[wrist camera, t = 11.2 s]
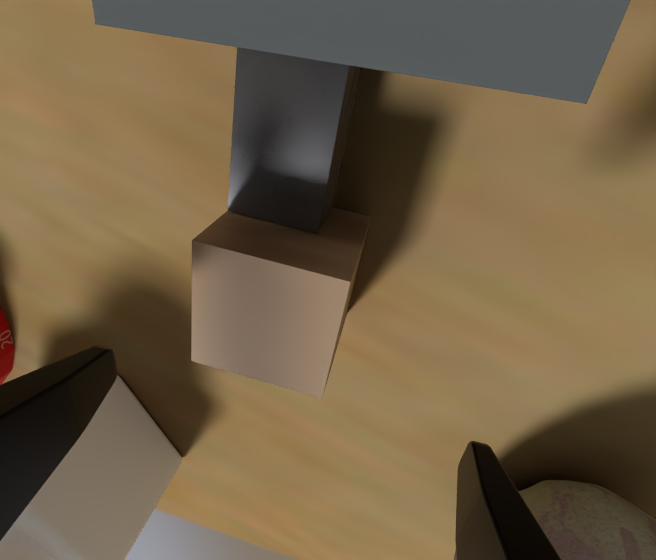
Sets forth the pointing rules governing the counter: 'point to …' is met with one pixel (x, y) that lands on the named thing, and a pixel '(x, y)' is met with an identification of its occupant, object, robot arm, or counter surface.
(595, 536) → the grey rounded lump
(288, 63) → the bar
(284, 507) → the counter surface
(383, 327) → the counter surface
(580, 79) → the tunnel
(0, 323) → the kitchen timer
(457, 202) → the counter surface
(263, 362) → the block
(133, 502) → the light grey rectangular box
